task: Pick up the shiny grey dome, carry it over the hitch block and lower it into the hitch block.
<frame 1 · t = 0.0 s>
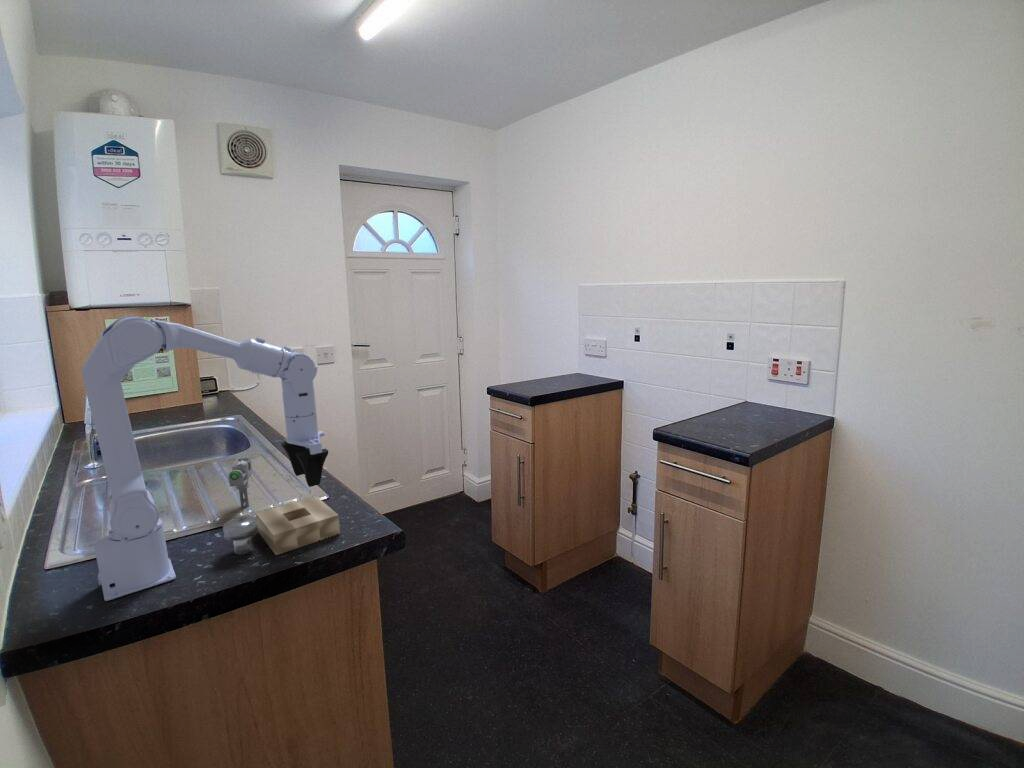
hand: (307, 479, 101), 10 cm above the counter, tool pointing down, fingers open, 7 cm apart
mechanical component: (245, 507, 114), on the counter
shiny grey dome: (243, 550, 95), on the counter
hitch block: (298, 532, 101), on the counter
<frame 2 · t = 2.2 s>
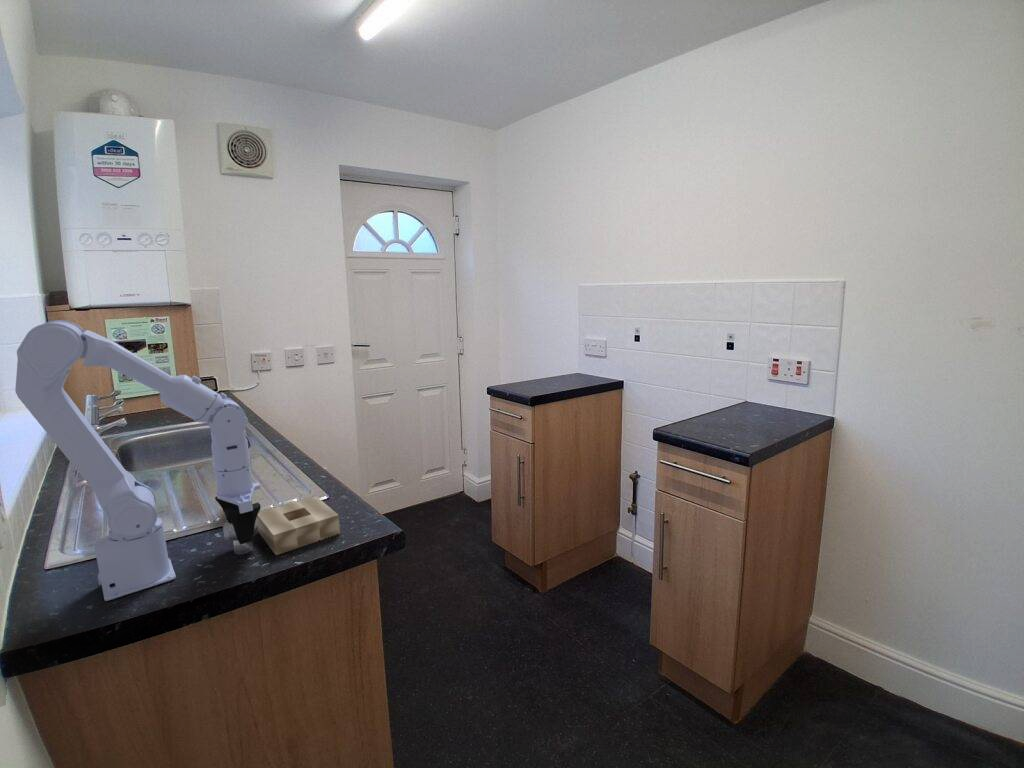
hand: (241, 535, 94), 3 cm above the counter, tool pointing down, fingers closed on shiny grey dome, 6 cm apart
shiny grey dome: (243, 550, 95), on the counter, touching gripper
everything else where it was.
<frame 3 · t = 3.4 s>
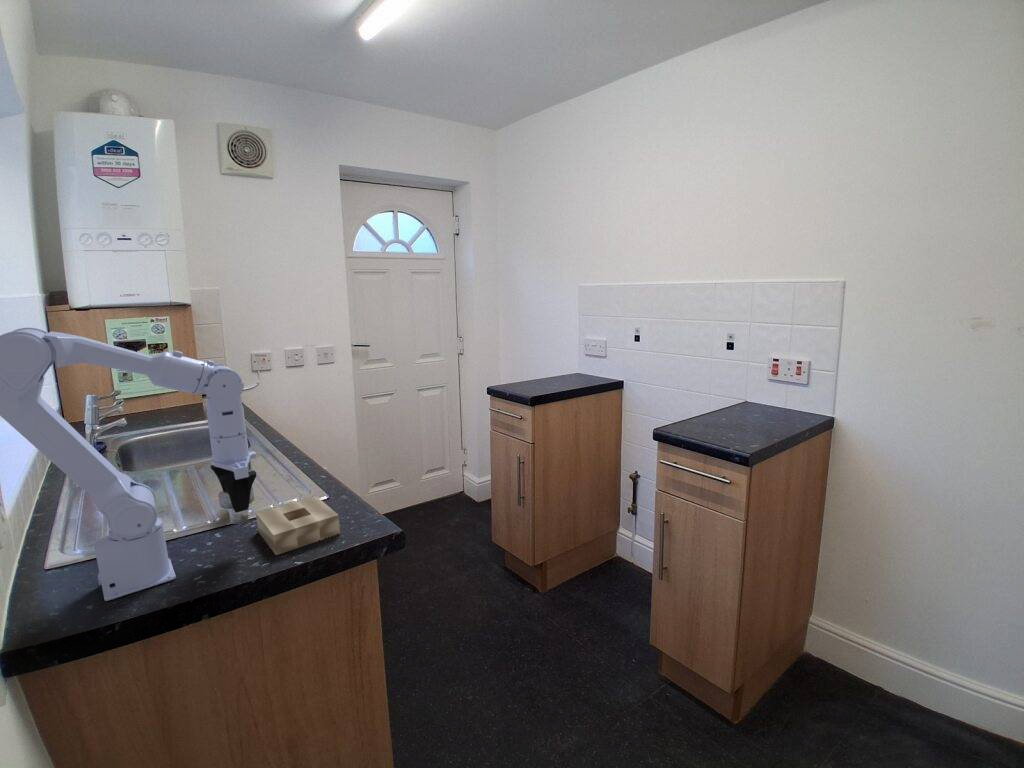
hand: (237, 505, 93), 9 cm above the counter, tool pointing down, fingers closed on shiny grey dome, 6 cm apart
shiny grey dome: (239, 519, 93), point 6 cm above the counter, touching gripper
everything else where it was.
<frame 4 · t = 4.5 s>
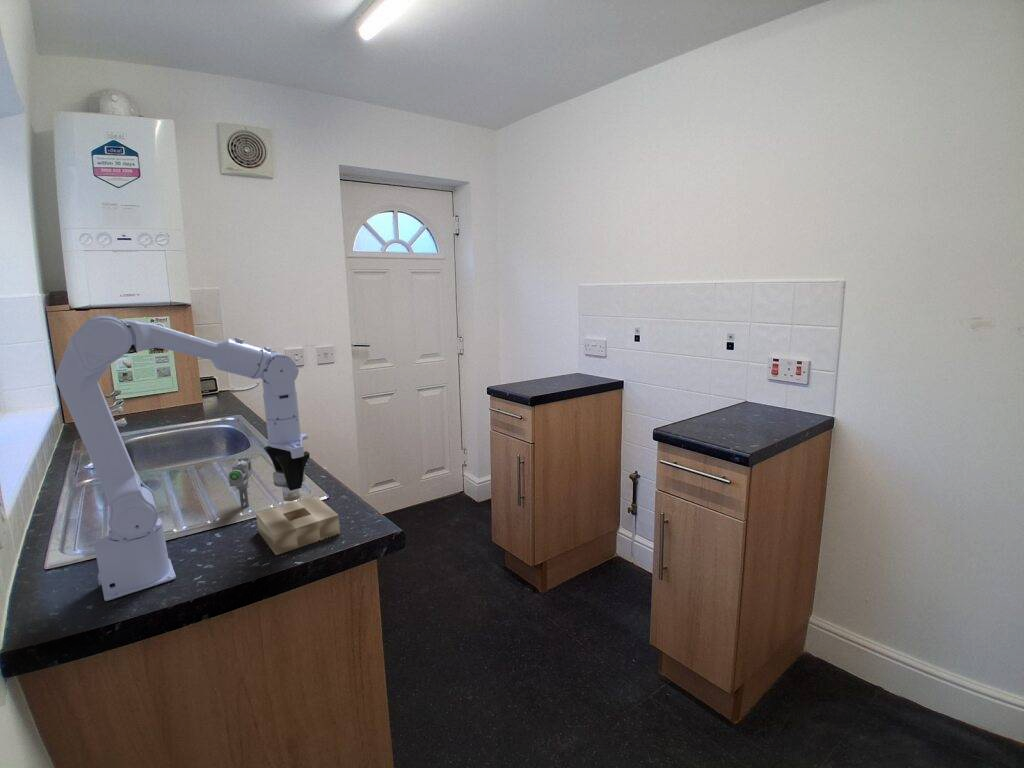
hand: (290, 484, 98), 10 cm above the counter, tool pointing down, fingers closed on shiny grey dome, 6 cm apart
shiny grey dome: (291, 498, 99), point 8 cm above the counter, touching gripper
everything else where it was.
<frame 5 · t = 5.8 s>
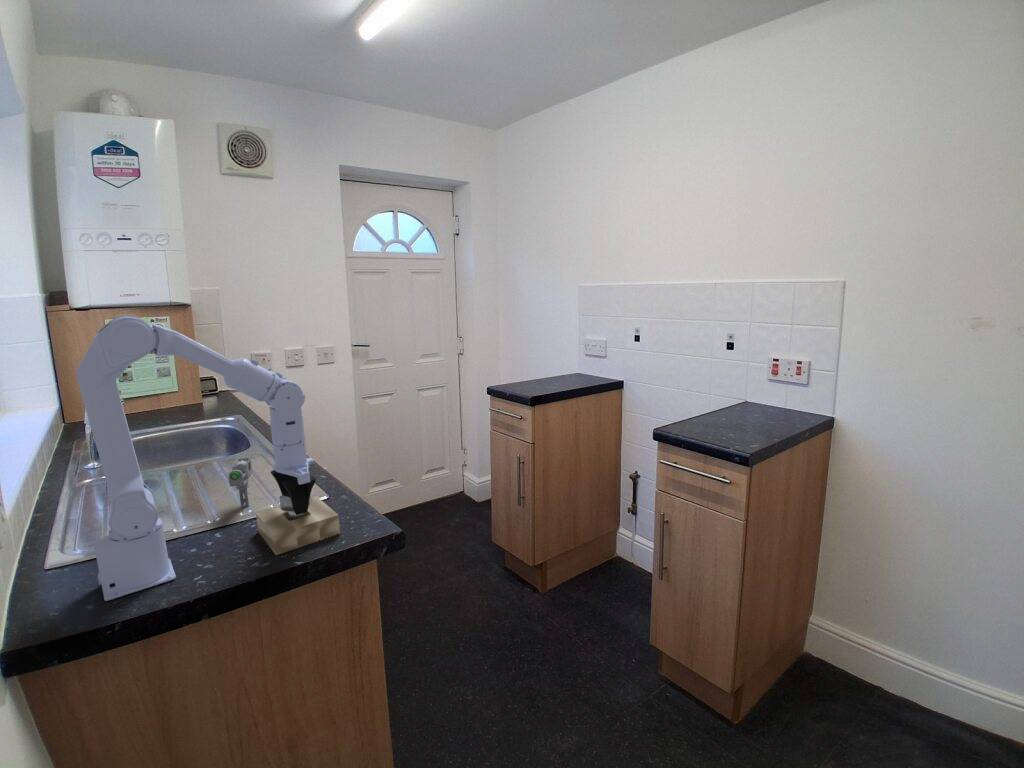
hand: (296, 507, 100), 5 cm above the counter, tool pointing down, fingers closed on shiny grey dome, 6 cm apart
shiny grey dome: (297, 521, 100), point 2 cm above the counter, touching gripper
everything else where it was.
when the fingers open (5 cm above the counter, at t = 6.9 s): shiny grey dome drops 1 cm, resting on hitch block.
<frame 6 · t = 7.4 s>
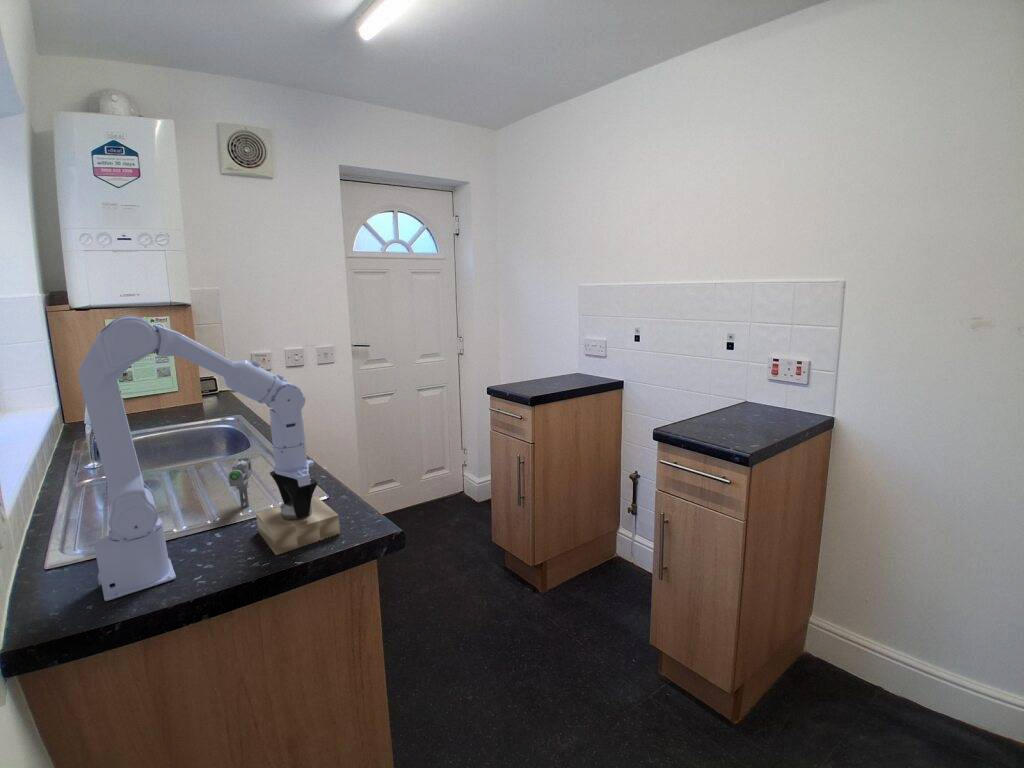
hand: (296, 509, 100), 5 cm above the counter, tool pointing down, fingers open, 7 cm apart
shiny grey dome: (298, 530, 101), resting on hitch block
everything else where it was.
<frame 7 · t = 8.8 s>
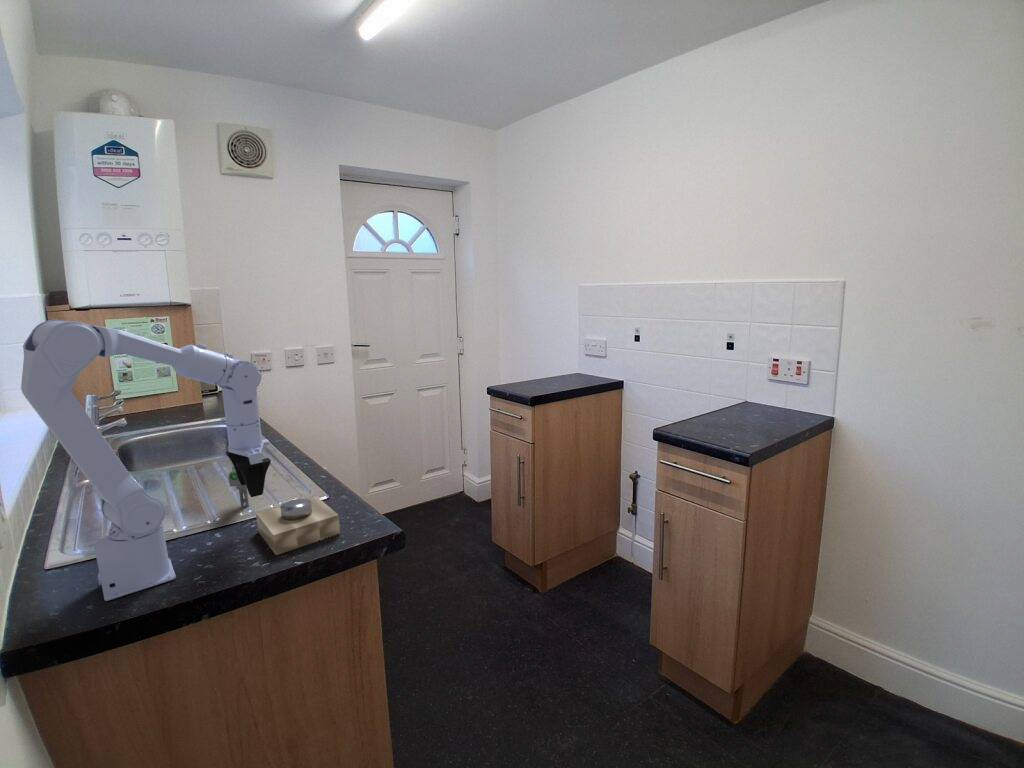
hand: (251, 489, 99), 9 cm above the counter, tool pointing down, fingers open, 7 cm apart
nothing on the counter moved.
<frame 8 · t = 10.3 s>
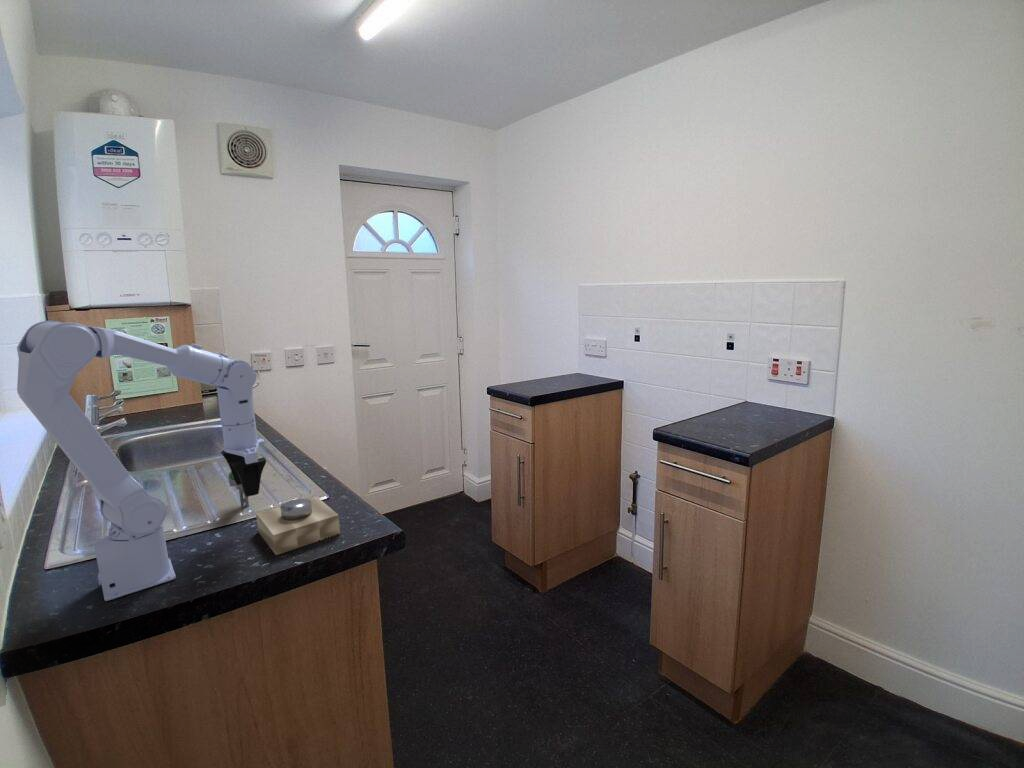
hand: (247, 489, 99), 9 cm above the counter, tool pointing down, fingers open, 7 cm apart
nothing on the counter moved.
at the end: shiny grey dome 0.0 cm off-centre on the hitch block, point 0.5 cm above the hitch block's base; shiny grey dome tilted 0°; the gripper is holding nothing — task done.
